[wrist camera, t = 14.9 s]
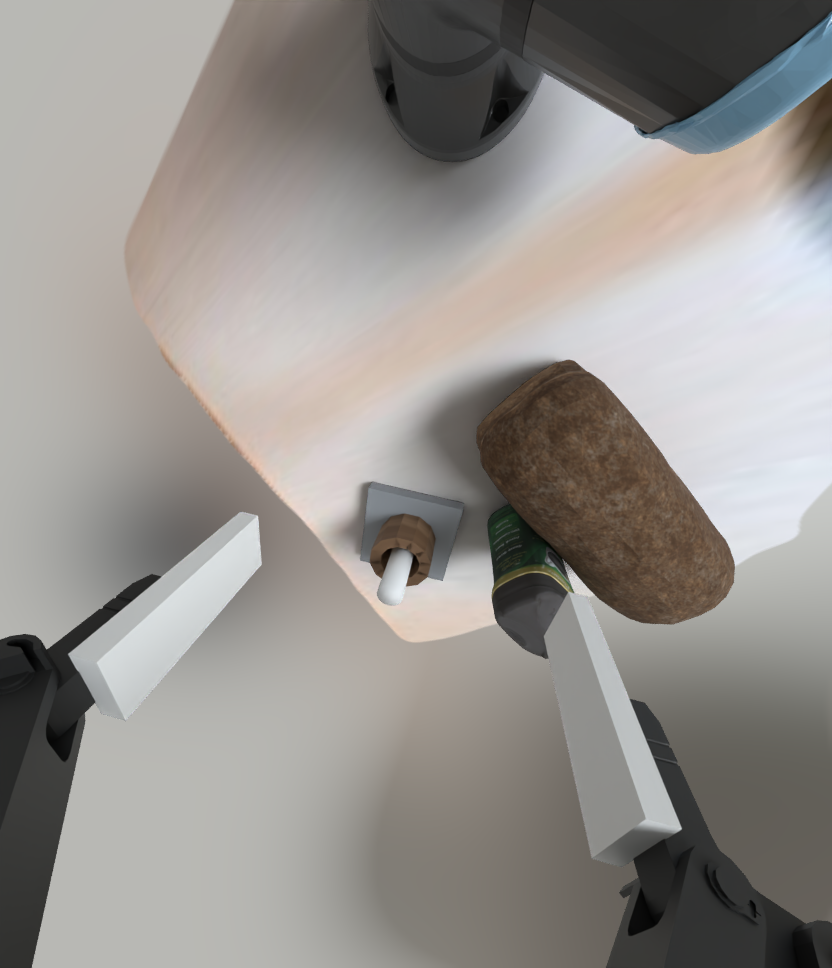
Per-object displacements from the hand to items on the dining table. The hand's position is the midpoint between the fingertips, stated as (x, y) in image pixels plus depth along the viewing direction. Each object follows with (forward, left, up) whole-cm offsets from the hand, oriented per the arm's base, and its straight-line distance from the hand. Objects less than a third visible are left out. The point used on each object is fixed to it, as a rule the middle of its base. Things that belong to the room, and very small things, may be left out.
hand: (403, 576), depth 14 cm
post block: (+21, -2, -32) cm, 38 cm away
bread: (+6, +19, -32) cm, 38 cm away
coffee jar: (+16, +14, -32) cm, 38 cm away
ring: (+21, -2, -30) cm, 36 cm away
